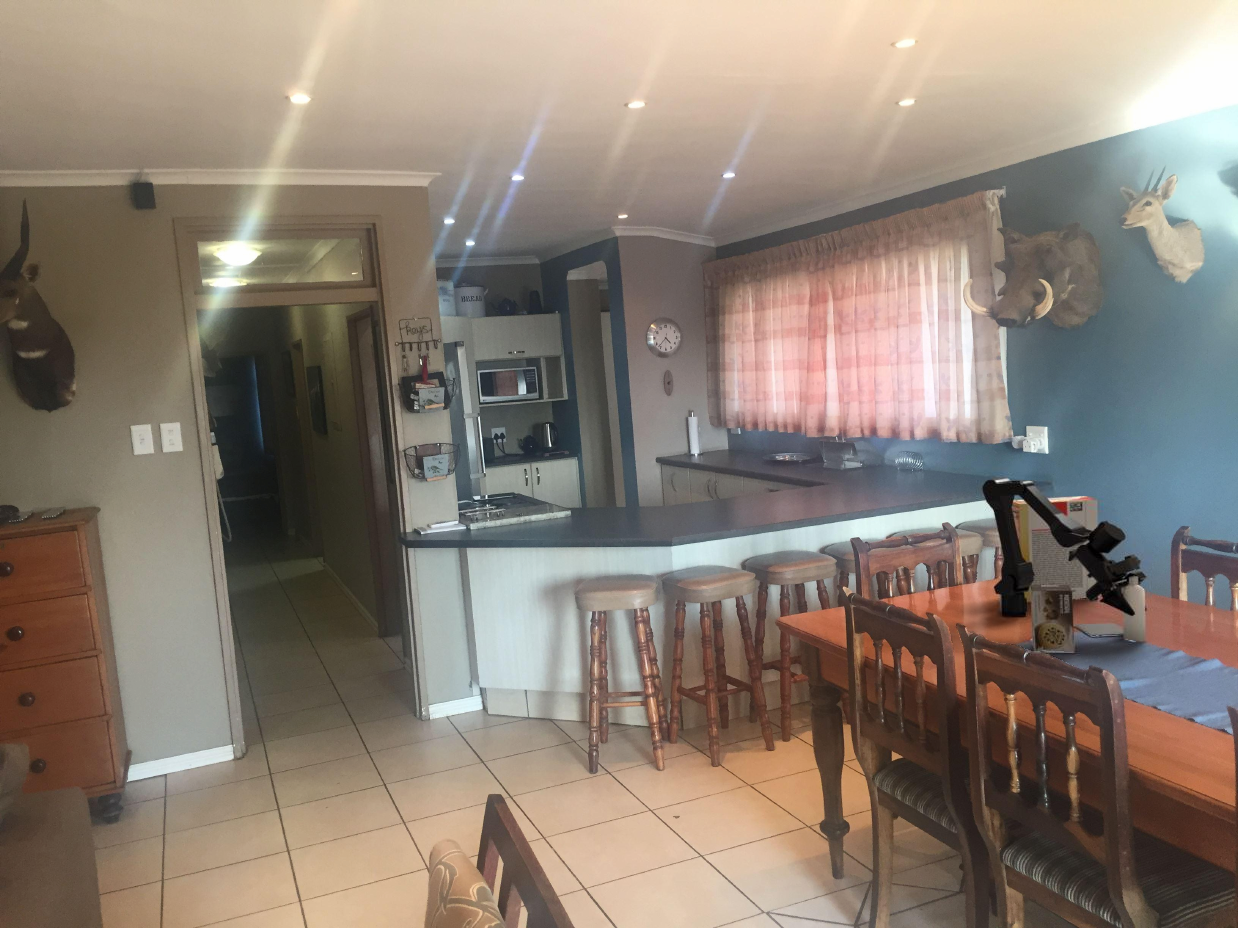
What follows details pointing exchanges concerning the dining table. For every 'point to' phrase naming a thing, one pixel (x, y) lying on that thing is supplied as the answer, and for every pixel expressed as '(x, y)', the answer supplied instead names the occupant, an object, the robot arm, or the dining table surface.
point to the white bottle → (1136, 600)
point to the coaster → (1101, 629)
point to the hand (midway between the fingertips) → (1139, 613)
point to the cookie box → (1052, 618)
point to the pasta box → (1054, 544)
